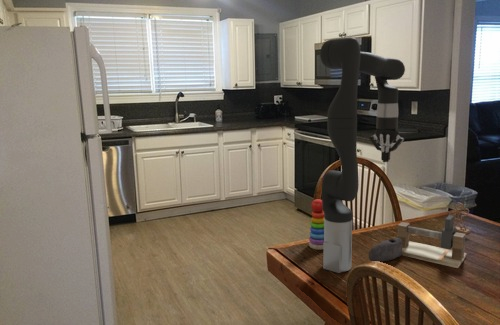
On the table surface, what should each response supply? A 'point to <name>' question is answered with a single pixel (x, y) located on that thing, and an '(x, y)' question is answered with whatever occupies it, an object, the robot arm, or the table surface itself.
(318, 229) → the stacking toy
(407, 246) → the pipe stand
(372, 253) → the perforated stone tool
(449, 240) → the collar
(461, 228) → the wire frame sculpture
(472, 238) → the table surface
